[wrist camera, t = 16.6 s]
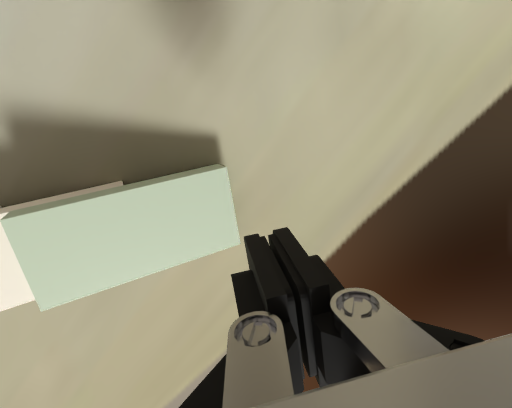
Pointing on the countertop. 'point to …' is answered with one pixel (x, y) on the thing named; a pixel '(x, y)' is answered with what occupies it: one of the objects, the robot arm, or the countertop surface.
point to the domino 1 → (6, 264)
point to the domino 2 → (121, 233)
